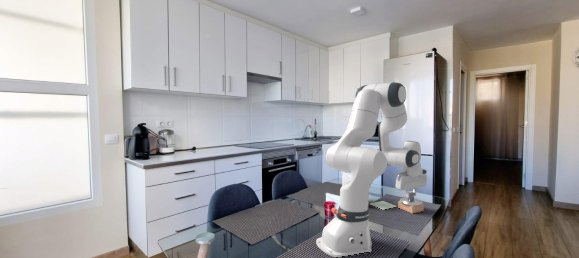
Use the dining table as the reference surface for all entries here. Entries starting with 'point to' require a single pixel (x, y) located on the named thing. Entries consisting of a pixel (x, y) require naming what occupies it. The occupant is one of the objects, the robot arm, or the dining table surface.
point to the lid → (411, 200)
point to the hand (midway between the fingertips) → (410, 196)
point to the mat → (382, 205)
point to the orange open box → (411, 208)
